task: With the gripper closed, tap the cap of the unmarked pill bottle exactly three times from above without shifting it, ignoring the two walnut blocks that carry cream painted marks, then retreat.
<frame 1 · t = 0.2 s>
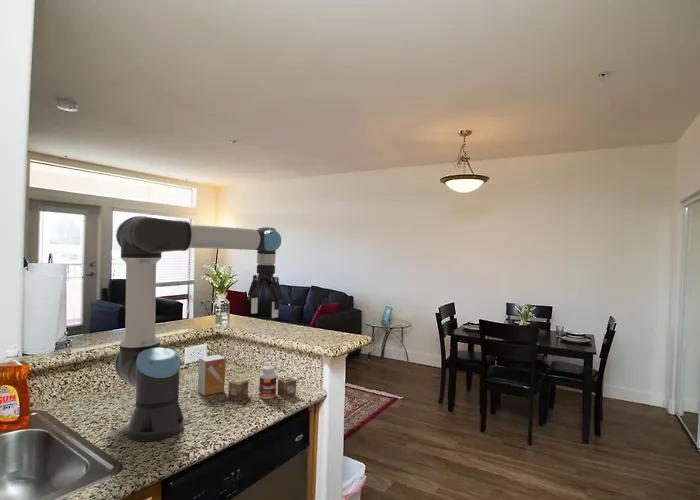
hand: (264, 315, 163), 28 cm above the counter, fingers open, 13 cm apart
marked block right: (286, 395, 150), on the counter
small box: (211, 392, 151), on the counter
marked block left: (238, 397, 146), on the counter
pill bottle: (267, 397, 148), on the counter
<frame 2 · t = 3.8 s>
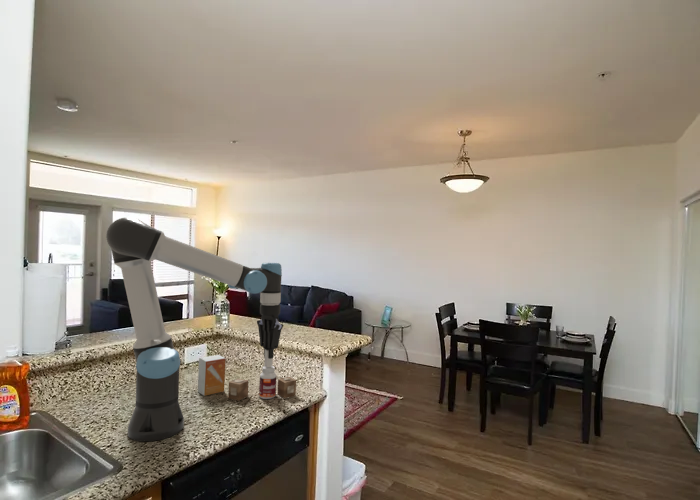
hand: (268, 366, 148), 11 cm above the counter, fingers closed
nothing on the counter moved.
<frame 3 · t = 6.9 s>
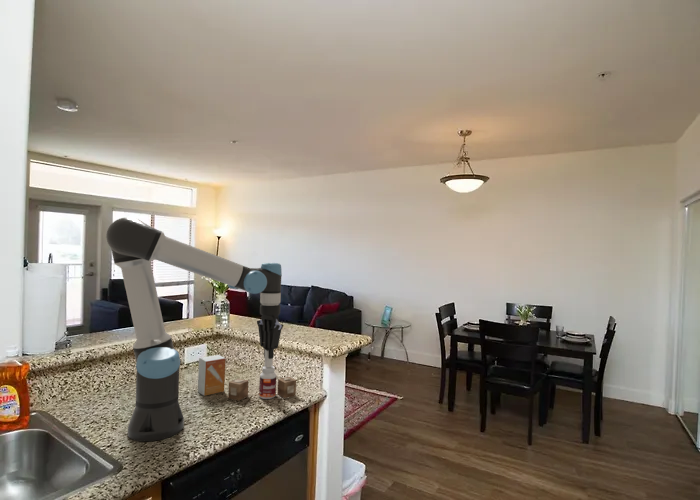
hand: (268, 366, 148), 11 cm above the counter, fingers closed
pill bottle: (267, 397, 148), on the counter, touching gripper
everything else where it was.
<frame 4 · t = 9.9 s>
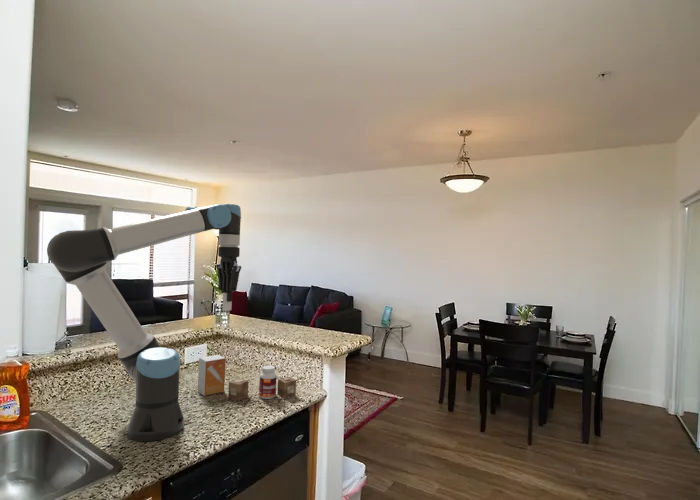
hand: (227, 310, 145), 32 cm above the counter, fingers closed
pill bottle: (267, 397, 148), on the counter
everything else where it was.
at the end: pill bottle moved 0.2 cm from its start; pill bottle tilted 0°; the gripper is holding nothing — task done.
